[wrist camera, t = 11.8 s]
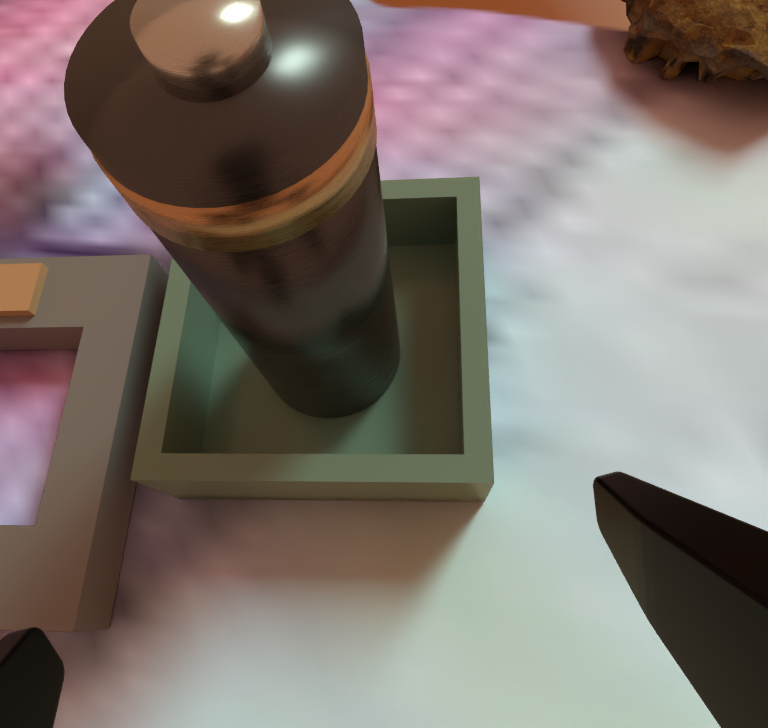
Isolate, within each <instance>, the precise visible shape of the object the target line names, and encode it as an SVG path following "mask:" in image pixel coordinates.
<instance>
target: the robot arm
mask: <svg viewBox="0 0 768 728" xmlns="http://www.w3.org/2000/svg"><path fill="white" fill-rule="evenodd" d="M593 490H594V499H595V508H596V517H597V522H598V526H599V529H600V531H601V533H602V535H603V537H604V539H605V541H606V543H607V545H608V547H609V549H610V550H611V552H612V554H613V556H614V558H615V560H616V562H617V564H618V565H619V567H620V569H621V571H622V573H623V575H624V577H625V579H626V580H627V582H628V584H629V586H630V588H631V590H632V592H633V594H634V595H635V597H636V599H637V601H638V603H639V605H640V607H641V608H642V610H643V612H644V614H645V615H646V617H647V619H648V621H649V622H650V624H651V625H652V627H653V628H654V630H655V631H656V633H657V634H658V636H659V637H660V639H661V640H662V642H663V643H664V645H665V646H666V648H667V649H668V651H669V652H670V654H671V655H672V656H673V658H674V659H675V661H676V662H677V664H678V665H679V667H680V668H681V670H682V671H683V673H684V674H685V676H686V677H687V679H688V680H689V681H690V683H691V684H692V686H693V687H694V689H695V690H696V692H697V693H698V695H699V696H700V698H701V699H702V701H703V702H704V703H705V705H706V706H707V708H708V709H709V711H710V712H711V714H712V715H713V717H714V718H715V720H716V721H717V723H718V724H719V725H720V727H721V728H768V531H765V530H763V529H760V528H758V527H755V526H753V525H751V524H748V523H746V522H743V521H741V520H738V519H736V518H733V517H731V516H728V515H726V514H723V513H721V512H719V511H716V510H714V509H711V508H709V507H706V506H704V505H701V504H699V503H696V502H694V501H692V500H689V499H687V498H684V497H682V496H679V495H677V494H674V493H672V492H669V491H667V490H665V489H662V488H660V487H657V486H655V485H652V484H650V483H647V482H645V481H642V480H640V479H638V478H635V477H633V476H630V475H628V474H625V473H622V472H613V473H609V474H605V475H602V476H598V477H596V478H595V480H594V483H593ZM63 681H64V666H63V662H62V660H61V659H60V657H59V655H58V654H57V652H56V651H55V649H54V648H53V646H52V644H51V643H50V641H49V640H48V638H47V637H46V635H45V633H44V632H43V631H42V630H41V629H39V628H38V627H30V628H26V629H23V630H19V631H15V632H12V633H10V634H8V635H6V636H5V637H3V638H2V639H1V640H0V728H53V726H54V721H55V717H56V712H57V708H58V703H59V699H60V694H61V690H62V685H63Z"/></svg>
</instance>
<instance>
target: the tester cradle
mask: <svg viewBox="0 0 768 728" xmlns="http://www.w3.org/2000/svg"><path fill="white" fill-rule="evenodd" d="M168 278H169V275H168V274H167V273H166V272H165V270H164V269H163V268H162V267H161V266H160V264H159V263H158V262H157V261H156V260H155V259H154V257H153V256H152V255H117V256H82V257H47V258H12V259H0V350H49V349H78V352H77V356H76V360H75V364H74V369H73V373H72V377H71V381H70V385H69V389H68V393H67V397H66V401H65V405H64V409H63V414H62V418H61V422H60V426H59V430H58V434H57V438H56V442H55V446H54V450H53V454H52V458H51V463H50V467H49V471H48V475H47V479H46V483H45V487H44V491H43V495H42V499H41V503H40V508H39V512H38V516H37V520H36V524H35V526H18V525H0V630H23V629H26V628H30V627H38V628H39V629H41V630H42V631H57V632H78V631H88V630H98V629H108V628H109V627H110V622H111V617H112V611H113V606H114V600H115V595H116V590H117V584H118V579H119V573H120V568H121V563H122V557H123V552H124V546H125V541H126V536H127V530H128V525H129V519H130V514H131V509H132V503H133V498H134V492H135V487H136V482H134V481H132V480H130V478H131V473H132V468H133V462H134V457H135V452H136V446H137V441H138V436H139V431H140V425H141V420H142V415H143V410H144V404H145V399H146V394H147V389H148V383H149V378H150V373H151V367H152V362H153V357H154V352H155V346H156V341H157V336H158V331H159V325H160V320H161V315H162V310H163V304H164V299H165V294H166V288H167V283H168Z"/></svg>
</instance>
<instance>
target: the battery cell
mask: <svg viewBox="0 0 768 728" xmlns="http://www.w3.org/2000/svg"><path fill="white" fill-rule="evenodd" d="M64 97H65V103H66V108H67V113H68V115H69V117H70V120H71V122H72V124H73V127H74V128H75V129H76V131H77V132H78V134H79V135H80V137H81V138H82V140H83V141H84V142H85V144H86V145H87V146H88V147H89V149H90V150H91V152H92V154H93V157H94V159H95V160H96V162H97V163H98V165H99V166H100V168H101V169H102V171H103V172H104V173H105V175H106V176H107V177H108V179H109V180H110V181H111V182H112V184H113V185H114V186H115V188H116V189H117V190H118V191H119V193H120V194H121V195H122V197H123V198H124V199H125V201H126V202H127V203H128V204H129V206H130V207H131V208H132V210H133V211H134V212H135V213H136V215H137V216H138V217H139V218H140V219H141V220H142V221H143V222H144V223H145V224H146V225H147V226H148V227H150V229H151V230H152V231H153V233H154V234H155V235H156V236H157V238H158V239H159V240H160V242H161V243H162V244H163V246H164V247H165V248H166V250H167V251H168V252H169V253H170V255H171V256H172V257H173V259H174V260H175V261H176V263H177V264H178V265H179V267H180V268H181V269H182V271H183V272H184V273H185V274H186V276H187V277H188V278H189V280H190V281H191V282H192V284H193V285H194V286H195V288H196V289H197V290H198V291H199V293H200V294H201V295H202V297H203V298H204V299H205V301H206V302H207V303H208V305H209V306H210V307H211V308H212V310H213V311H214V312H215V314H216V315H217V316H218V318H219V319H220V320H221V322H222V323H223V324H224V325H225V327H226V328H227V329H228V331H229V332H230V333H231V335H232V336H233V337H234V339H235V340H236V341H237V342H238V344H239V345H240V346H241V348H242V349H243V350H244V352H245V353H246V354H247V356H248V357H249V358H250V359H251V361H252V362H253V363H254V365H255V366H256V367H257V369H258V370H259V371H260V373H261V374H262V375H263V376H264V378H265V379H266V380H267V382H268V383H269V384H270V386H271V387H272V388H273V390H274V391H275V392H276V394H277V395H278V396H279V397H280V398H281V399H282V400H283V401H284V402H285V403H286V404H287V405H289V406H290V407H291V408H293V409H295V410H296V411H298V412H300V413H303V414H305V415H308V416H312V417H317V418H341V417H345V416H349V415H353V414H355V413H358V412H360V411H362V410H364V409H366V408H368V407H369V406H370V405H372V404H373V403H375V402H376V401H377V400H378V399H379V398H380V397H381V396H382V395H383V394H384V393H385V392H386V391H387V389H388V388H389V386H390V385H391V383H392V382H393V380H394V378H395V375H396V373H397V370H398V367H399V362H400V341H399V333H398V324H397V316H396V308H395V299H394V291H393V282H392V274H391V266H390V257H389V249H388V241H387V232H386V224H385V215H384V207H383V199H382V190H381V182H380V174H379V165H378V157H377V148H376V140H377V126H376V118H375V109H374V100H373V91H372V82H371V74H370V67H369V62H368V59H367V56H366V53H365V48H364V40H363V32H362V26H361V23H360V20H359V17H358V14H357V13H356V11H355V9H354V7H353V5H352V3H351V2H350V1H349V0H115V1H113V2H112V3H111V4H110V5H108V6H107V7H106V8H105V9H104V10H103V11H102V12H101V13H100V14H99V15H98V16H97V17H96V18H95V19H94V21H93V22H92V23H91V24H90V25H89V26H88V28H87V29H86V30H85V32H84V33H83V35H82V36H81V38H80V39H79V41H78V42H77V44H76V46H75V49H74V51H73V53H72V55H71V57H70V60H69V63H68V67H67V70H66V76H65V82H64Z"/></svg>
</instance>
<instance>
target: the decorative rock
mask: <svg viewBox="0 0 768 728" xmlns="http://www.w3.org/2000/svg"><path fill="white" fill-rule="evenodd" d="M622 1H623V2H626V15H627V17H628V19H629V21H630V23H631V25H630V26H629V32H628V39H627V42H626V45H625V48H624V52H625V55H626V57H627V59H628V60H629V61H631V62H632V63H637V64H638V63H642V62H644V61H646V60H649V59H651V58H654V57H656V56H659V57H661V58H663V59H664V60H666V61H667V64H666V65H665V67H664V68H663V70H662V71H661V79H669V78H674V77H677V75H678V74H679V73H680V72H681V71H682V69H683V68H684V66H685V65H686V63H687V62H699V81H701V80H704V82H705V83H707V85H708V86H712V87H715V85H716V79H717V78H719V77H721V76H725V77H728V78H732V79H736V80H740V81H741V80H747V79H750V78H751V79H758V78H763V77H764V78H765V79H766V80H767V81H768V0H622Z"/></svg>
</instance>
